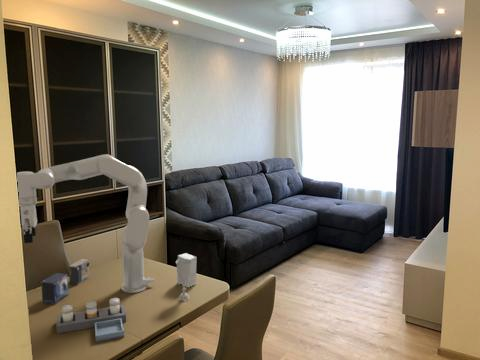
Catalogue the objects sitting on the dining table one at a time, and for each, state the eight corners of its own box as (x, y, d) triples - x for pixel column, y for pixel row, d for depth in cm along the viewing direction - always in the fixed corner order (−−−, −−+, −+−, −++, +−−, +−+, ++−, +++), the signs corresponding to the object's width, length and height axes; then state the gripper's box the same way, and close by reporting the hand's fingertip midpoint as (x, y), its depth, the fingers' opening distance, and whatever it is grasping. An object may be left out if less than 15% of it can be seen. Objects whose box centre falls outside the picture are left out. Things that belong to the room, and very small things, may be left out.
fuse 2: (119, 314, 170) (119, 297, 169) (120, 319, 166) (119, 301, 165) (109, 316, 169) (109, 298, 167) (110, 321, 165) (109, 302, 164)
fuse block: (124, 311, 173) (123, 304, 173) (126, 321, 165) (125, 314, 164) (58, 322, 164) (57, 315, 163) (56, 333, 156) (56, 326, 155)
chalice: (194, 296, 187) (194, 260, 184) (188, 303, 181) (187, 265, 178) (180, 294, 189) (179, 258, 186) (173, 300, 183) (172, 263, 180)
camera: (76, 286, 198) (75, 266, 196) (67, 284, 199) (65, 265, 198) (91, 277, 208) (90, 258, 207) (82, 275, 210) (81, 257, 208)
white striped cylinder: (97, 318, 167) (96, 300, 166) (97, 323, 163) (96, 304, 162) (87, 320, 166) (85, 302, 164) (87, 325, 162) (86, 306, 160)
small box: (54, 305, 178) (53, 283, 176) (42, 303, 179) (40, 281, 178) (69, 294, 188) (68, 273, 187) (57, 293, 190) (55, 272, 188)
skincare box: (176, 283, 201) (176, 255, 199) (185, 280, 206) (185, 252, 203) (188, 288, 196) (187, 259, 193) (197, 284, 200) (196, 256, 198)
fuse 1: (73, 322, 164) (72, 304, 162) (73, 327, 160) (72, 308, 159) (63, 324, 162) (61, 305, 161) (62, 329, 159) (61, 310, 157)
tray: (121, 323, 163) (121, 318, 163) (124, 336, 154) (123, 330, 153) (95, 328, 159) (94, 322, 159) (95, 342, 150) (95, 336, 150)
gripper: (34, 204, 164) (37, 244, 167) (39, 196, 180) (42, 232, 183) (13, 205, 162) (17, 246, 165) (20, 197, 178) (23, 234, 181)
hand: (30, 239), depth 174 cm, fingers open, 9 cm apart
